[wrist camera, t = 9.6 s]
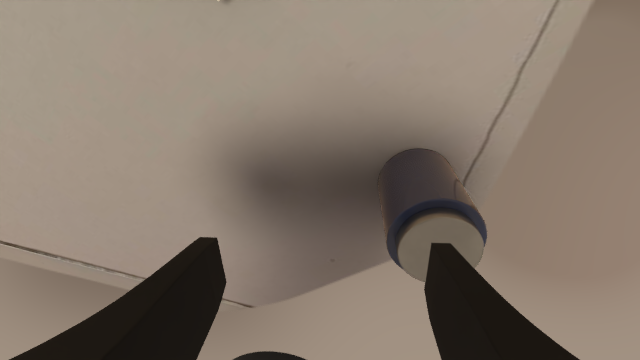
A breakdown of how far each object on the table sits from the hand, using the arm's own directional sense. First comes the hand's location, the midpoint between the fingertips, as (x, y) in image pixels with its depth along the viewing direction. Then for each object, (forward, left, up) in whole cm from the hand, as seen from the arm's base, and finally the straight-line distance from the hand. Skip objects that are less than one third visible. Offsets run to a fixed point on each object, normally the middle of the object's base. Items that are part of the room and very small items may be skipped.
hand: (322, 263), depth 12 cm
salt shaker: (-2, -5, -9) cm, 11 cm away
